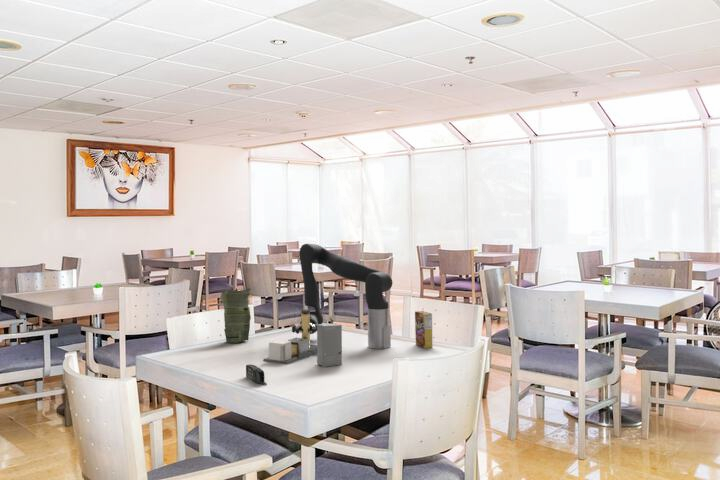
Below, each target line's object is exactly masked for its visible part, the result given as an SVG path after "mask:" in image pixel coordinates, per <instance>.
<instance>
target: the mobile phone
mask: <svg viewBox="0 0 720 480" xmlns="http://www.w3.org/2000/svg"><path fill="white" fill-rule="evenodd" d="M245 376H246V378H248V379H249V380H251V381H252V382H254V383H255V384H263V385H265V386H267V385H268V383H267V382H266V381H265V371H264V370H263V369H262V368H260V367H258V366H257V365H254V364H246V365H245Z"/></svg>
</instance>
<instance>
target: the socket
mask: <svg viewBox="0 0 720 480" xmlns="http://www.w3.org/2000/svg"><path fill="white" fill-rule="evenodd" d="M268 357H269V359H271V360H279V361H285V360H288V359H291V342H290V341H288V340H279V339H276V340H273V341H269V342H268Z"/></svg>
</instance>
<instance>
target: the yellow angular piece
mask: <svg viewBox="0 0 720 480" xmlns="http://www.w3.org/2000/svg"><path fill="white" fill-rule="evenodd" d="M310 312H311V310H310V309H307V308H306V309H300V315H301V316H300V321H301V320H302V333H301V338H305V339H308V351H309V350H310V344H311V334H310ZM297 354H298V343H295V342H294V343H291V356H294V355H297Z"/></svg>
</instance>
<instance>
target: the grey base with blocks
mask: <svg viewBox="0 0 720 480" xmlns="http://www.w3.org/2000/svg"><path fill="white" fill-rule="evenodd" d="M287 341H290V342H291V343H294V342H295V343H298V354H297V355H294V356H291V359H288V360H285V361H279V360H271V359H269V356H268V357H265V358H262V359H263V361H264V362H269V363H270V362H271V363H278V364H283V365H288V364H291V363H294V362H298V361H300V360H303V359H306V358H309V357H312V356H316V355H317V344H311V343H310V350H309V351H308V339H305V338H302V337H294V338H290V339H288V340H287Z"/></svg>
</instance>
